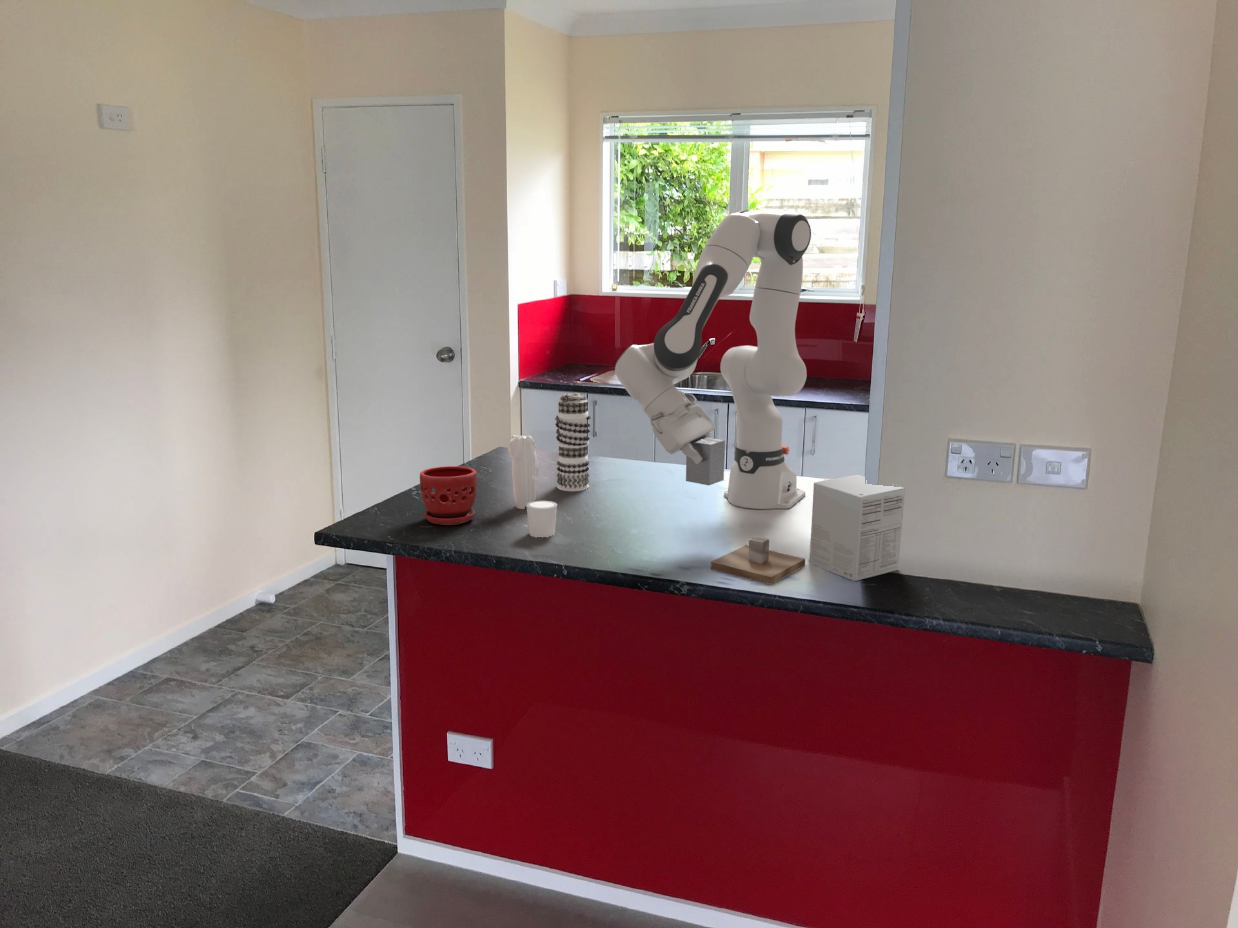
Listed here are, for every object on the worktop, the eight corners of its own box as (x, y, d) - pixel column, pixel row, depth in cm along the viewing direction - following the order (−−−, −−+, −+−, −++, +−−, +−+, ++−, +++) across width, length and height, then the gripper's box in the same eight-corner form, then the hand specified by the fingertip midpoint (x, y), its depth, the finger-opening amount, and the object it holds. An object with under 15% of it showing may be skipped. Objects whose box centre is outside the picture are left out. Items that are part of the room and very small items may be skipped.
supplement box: (900, 570, 198) (907, 487, 194) (854, 582, 191) (860, 496, 187) (852, 552, 209) (858, 473, 205) (807, 562, 202) (812, 481, 198)
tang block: (746, 551, 209) (747, 524, 207) (804, 565, 200) (806, 537, 199) (710, 568, 198) (711, 540, 197) (771, 584, 190) (772, 555, 188)
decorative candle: (570, 480, 265) (569, 390, 259) (597, 486, 260) (597, 393, 254) (548, 487, 258) (547, 394, 252) (576, 493, 253) (575, 398, 247)
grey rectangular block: (700, 475, 218) (701, 436, 216) (723, 480, 214) (725, 440, 212) (685, 481, 213) (686, 440, 211) (709, 485, 209) (710, 444, 207)
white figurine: (513, 511, 236) (542, 509, 238) (511, 439, 232) (541, 437, 234) (506, 504, 242) (535, 501, 244) (504, 434, 238) (533, 432, 240)
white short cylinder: (533, 540, 215) (533, 509, 213) (522, 531, 221) (521, 502, 219) (562, 536, 218) (562, 506, 216) (550, 527, 224) (549, 498, 222)
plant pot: (489, 519, 230) (488, 470, 227) (444, 531, 220) (442, 480, 217) (454, 508, 238) (453, 461, 235) (410, 519, 229) (408, 470, 226)
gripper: (656, 408, 204) (698, 459, 202) (696, 393, 221) (735, 439, 219) (637, 427, 207) (678, 477, 205) (678, 410, 224) (716, 456, 222)
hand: (708, 457), depth 212 cm, fingers closed on grey rectangular block, 6 cm apart
